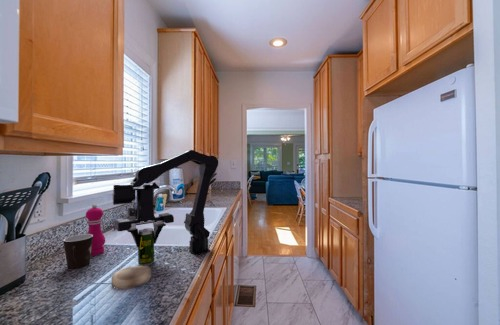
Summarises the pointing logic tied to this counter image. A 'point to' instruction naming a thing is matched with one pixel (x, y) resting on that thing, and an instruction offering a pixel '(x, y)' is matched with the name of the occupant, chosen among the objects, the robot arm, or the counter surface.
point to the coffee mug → (78, 250)
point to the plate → (131, 277)
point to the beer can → (146, 247)
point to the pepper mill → (95, 229)
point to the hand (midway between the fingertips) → (146, 245)
